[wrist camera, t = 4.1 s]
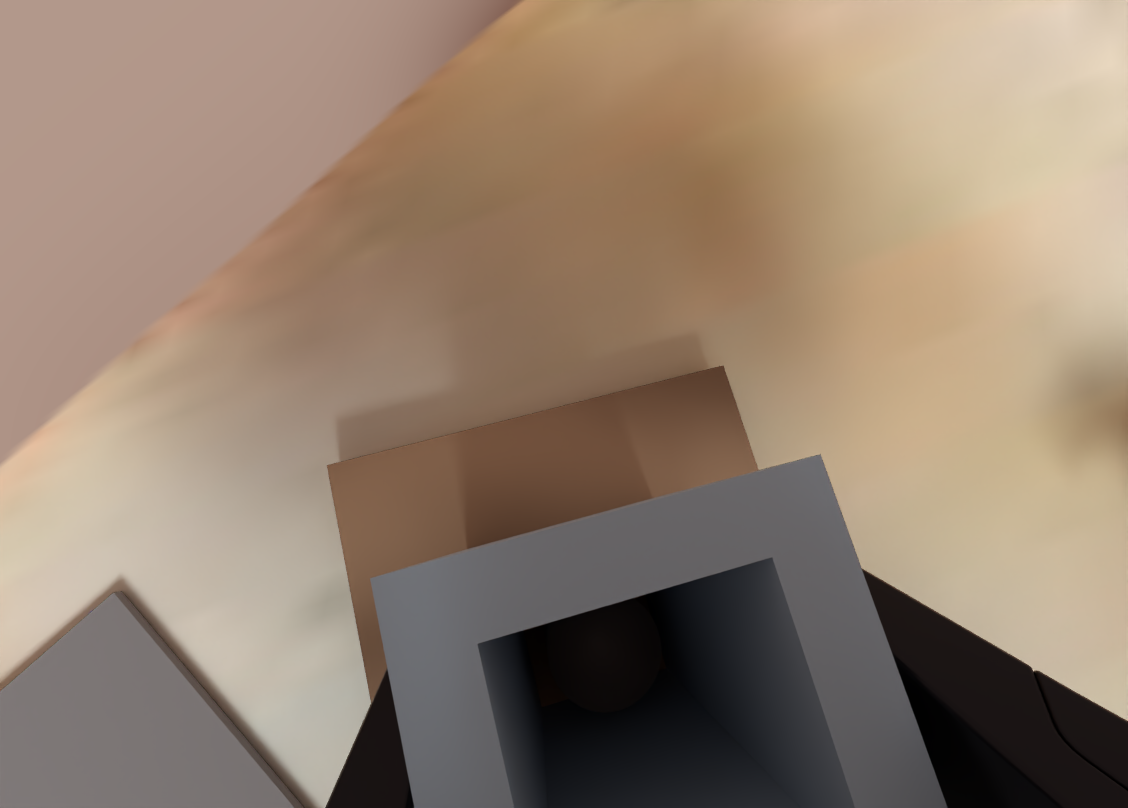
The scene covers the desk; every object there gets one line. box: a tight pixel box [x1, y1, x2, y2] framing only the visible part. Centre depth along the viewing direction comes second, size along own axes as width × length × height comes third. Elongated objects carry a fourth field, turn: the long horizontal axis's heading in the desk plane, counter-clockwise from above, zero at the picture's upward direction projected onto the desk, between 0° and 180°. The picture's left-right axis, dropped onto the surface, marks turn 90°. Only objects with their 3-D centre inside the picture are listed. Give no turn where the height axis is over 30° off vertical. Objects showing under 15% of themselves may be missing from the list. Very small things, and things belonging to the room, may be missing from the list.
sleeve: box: [370, 455, 947, 808], centre depth 10 cm, size 5×5×9 cm
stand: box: [327, 366, 758, 713], centre depth 13 cm, size 11×11×4 cm
